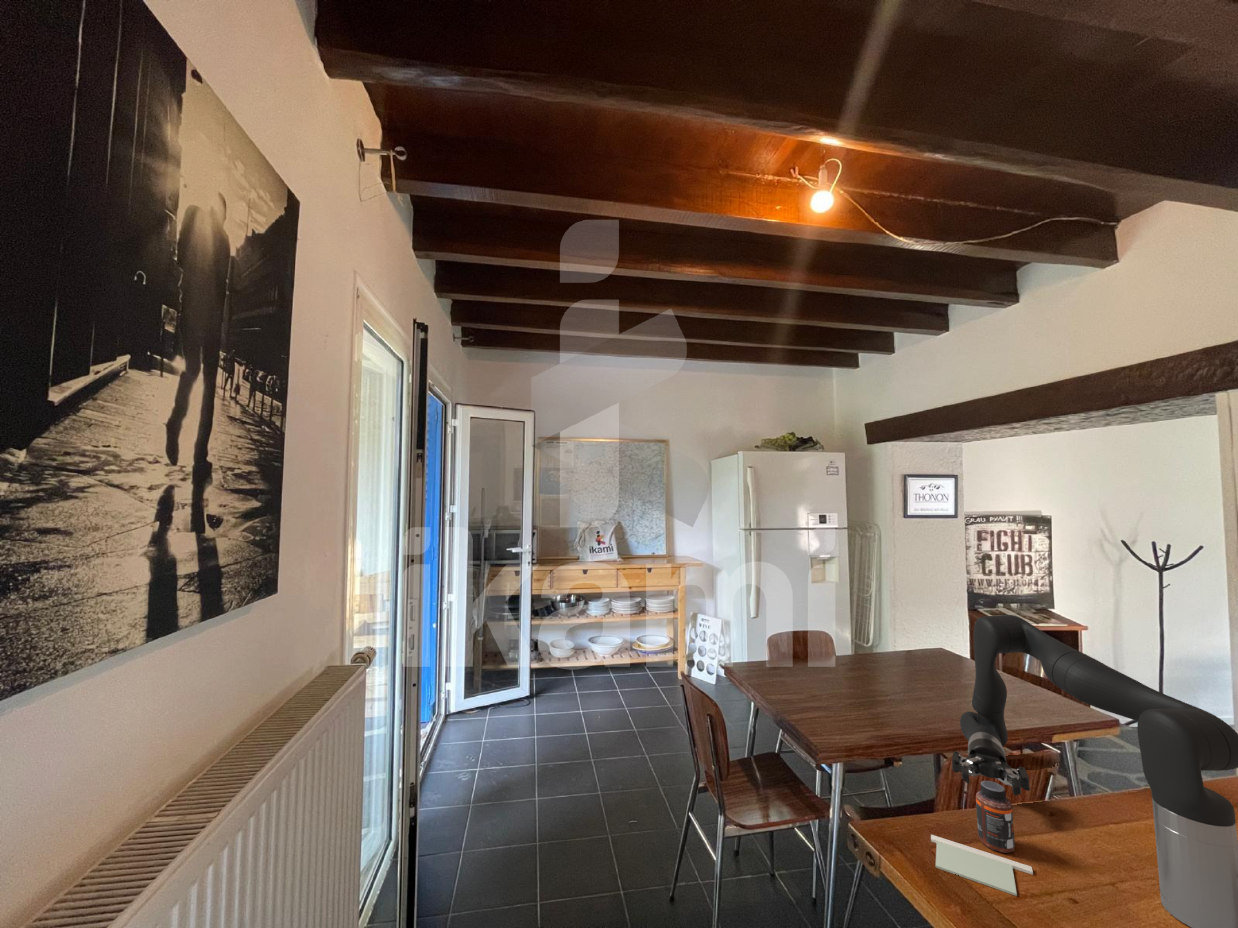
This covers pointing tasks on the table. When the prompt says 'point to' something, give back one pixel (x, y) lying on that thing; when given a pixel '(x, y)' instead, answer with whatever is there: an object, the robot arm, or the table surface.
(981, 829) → the supplement bottle
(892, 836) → the table surface
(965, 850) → the white flat t-shaped panel
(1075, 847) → the table surface
